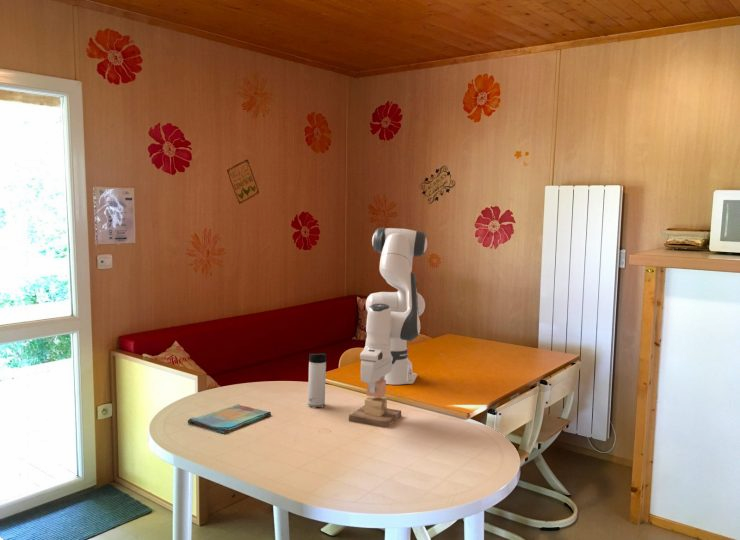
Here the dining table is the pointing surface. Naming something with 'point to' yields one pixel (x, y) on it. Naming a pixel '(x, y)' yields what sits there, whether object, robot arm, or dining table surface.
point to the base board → (375, 417)
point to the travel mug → (317, 380)
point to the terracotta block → (377, 388)
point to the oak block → (375, 406)
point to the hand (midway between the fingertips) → (376, 390)
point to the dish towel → (229, 418)
